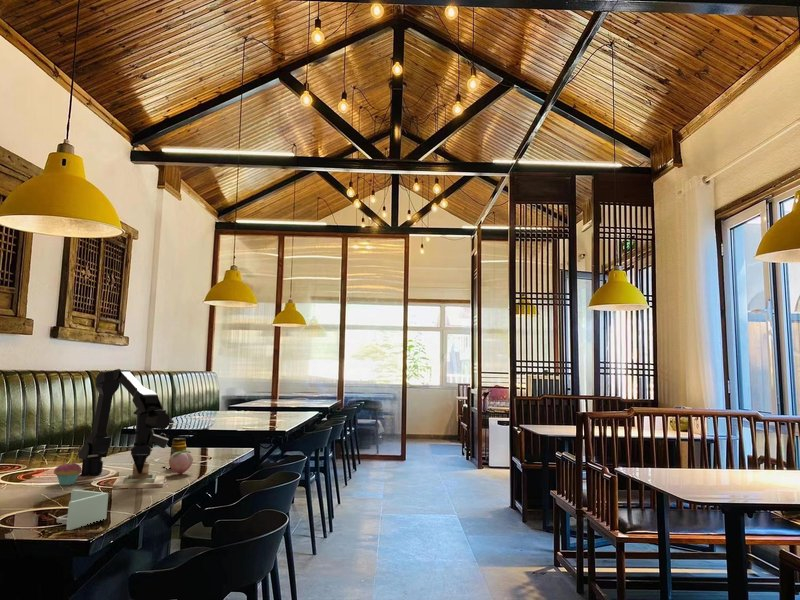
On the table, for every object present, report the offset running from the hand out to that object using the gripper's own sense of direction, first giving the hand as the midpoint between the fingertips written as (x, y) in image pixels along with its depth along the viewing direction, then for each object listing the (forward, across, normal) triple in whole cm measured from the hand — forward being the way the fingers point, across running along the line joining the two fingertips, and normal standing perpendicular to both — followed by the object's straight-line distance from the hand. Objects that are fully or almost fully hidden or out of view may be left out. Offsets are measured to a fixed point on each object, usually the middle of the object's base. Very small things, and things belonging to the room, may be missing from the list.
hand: (140, 471), depth 202 cm
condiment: (+4, +33, -11) cm, 35 cm away
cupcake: (+4, +5, +24) cm, 25 cm away
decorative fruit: (+4, +16, -13) cm, 21 cm away
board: (+4, 0, 0) cm, 4 cm away
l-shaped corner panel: (+5, -50, +13) cm, 52 cm away
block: (+3, 0, 0) cm, 3 cm away
